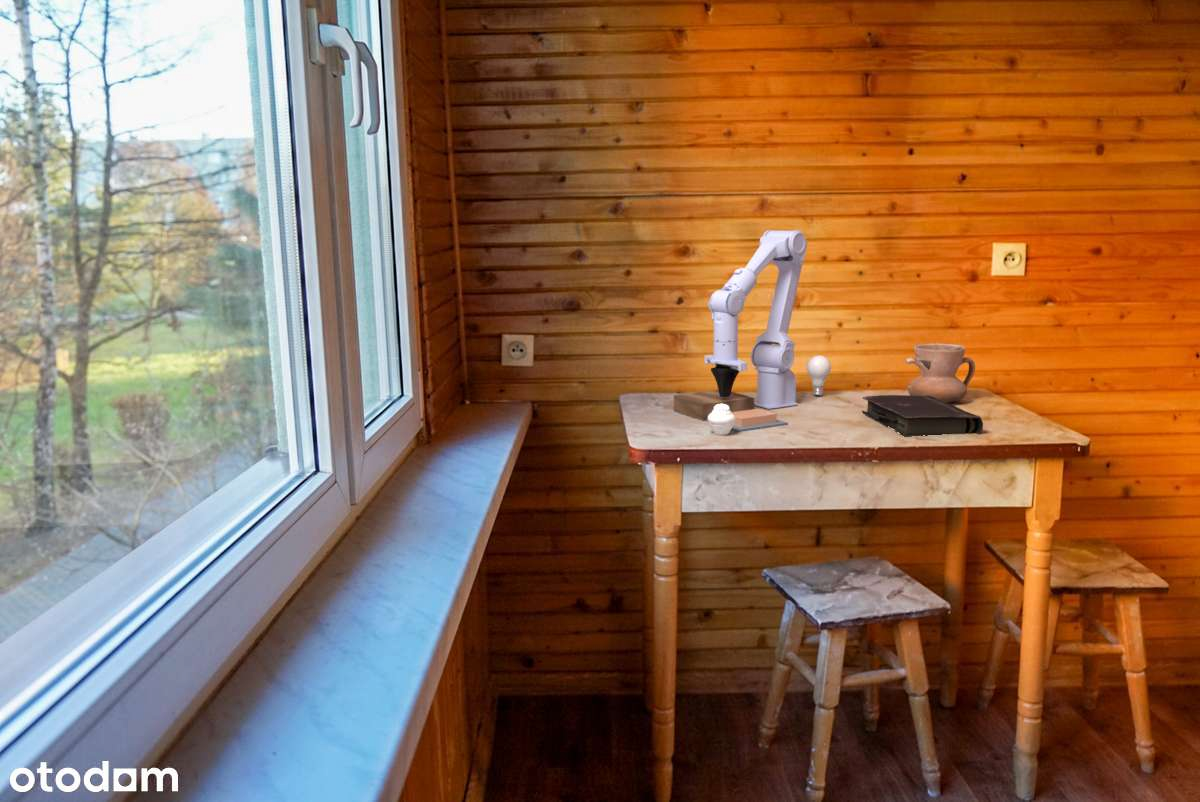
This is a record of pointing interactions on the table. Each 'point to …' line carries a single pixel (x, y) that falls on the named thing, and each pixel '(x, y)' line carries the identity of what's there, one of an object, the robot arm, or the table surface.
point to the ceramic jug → (940, 371)
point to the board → (710, 403)
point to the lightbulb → (818, 372)
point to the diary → (921, 415)
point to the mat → (757, 426)
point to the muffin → (721, 419)
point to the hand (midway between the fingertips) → (724, 396)
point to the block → (753, 417)
